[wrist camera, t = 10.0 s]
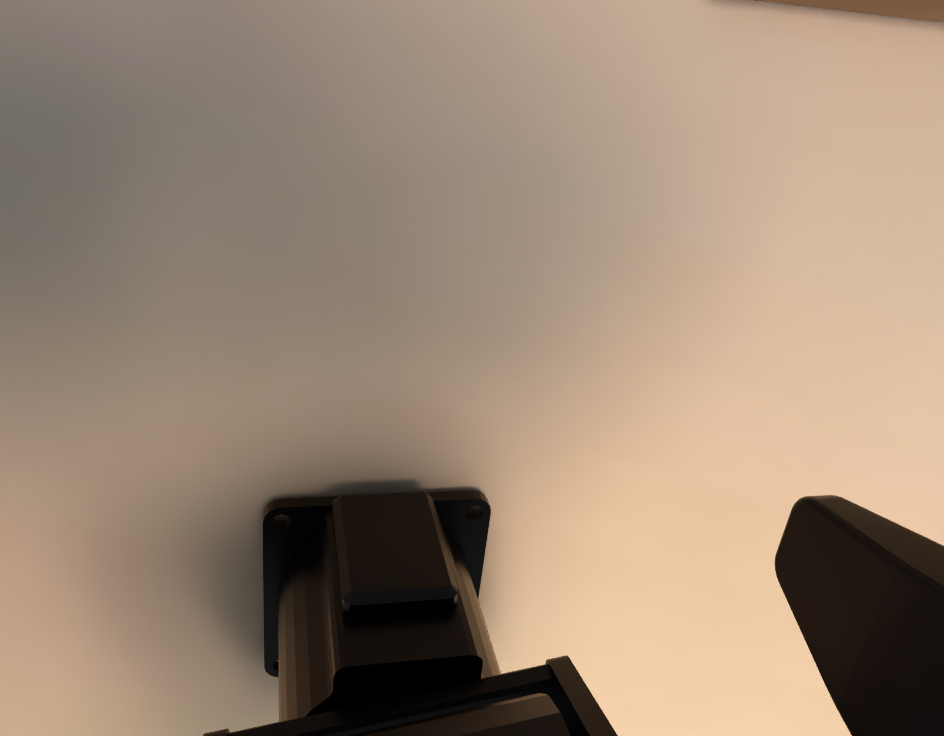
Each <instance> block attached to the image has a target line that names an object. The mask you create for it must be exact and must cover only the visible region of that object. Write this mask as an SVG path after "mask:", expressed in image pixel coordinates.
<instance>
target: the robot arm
mask: <svg viewBox="0 0 944 736" xmlns="http://www.w3.org/2000/svg"><path fill="white" fill-rule="evenodd" d="M472 506H479V507H478V508H477V509H476V510H475V511H471V512H470V511H467V509H469V508H470V507H472ZM490 514H491V510H490V505H489V502H488V500H487V498H486V496H485V495H484V494H483V493H481V492H479V491H456V492H432V493H425V492H412V493H388V494H364V495H343V496H336V497H312V498H288V499H278V500H274V501H272V502H270V503H268V505H267V506H266V507H265V508H264V512H263V582H264V663H265V670H266V672H267V673H268V674H269V675H271V676H274V677H279V722H277V723H272V724H268V725H263V726H259V727H254V728H249V729H245V730H240V731H236V732H231V733H230V731H229V729H224V730H219V731H215V732H210V733H205V734H204V735H203V736H617V734H616V732H615V731H614V729H613V728H612V726H611V724H610V723H609V721H608V719H607V718H606V716H605V715H604V713H603V711H602V710H601V708H600V707H599V705H598V703H597V702H596V700H595V699H594V697H593V695H592V694H591V692H590V691H589V689H588V687H587V686H586V684H585V682H584V681H583V679H582V678H581V676H580V674H579V673H578V671H577V670H576V668H575V666H574V665H573V663H572V662H571V660H570V658H569V657H568V656H562V657H558V658H553V659H548V660H546V664H545V665H540V666H536V667H531V668H526V669H522V670H517V671H512V672H508V673H503V674H501V673H500V670H499V666H498V663H497V660H496V657H495V653H494V650H493V647H492V644H491V641H490V637H489V634H488V631H487V628H486V624H485V621H484V618H483V615H482V611H481V608H480V605H479V602H478V597H479V590H480V583H481V576H482V569H483V562H484V555H485V548H486V541H487V534H488V527H489V521H490ZM278 515H286V516H288V518H287V519H286V520H282V521H280V520H276V519H275V517H276V516H278ZM775 571H776V575H777V578H778V581H779V583H780V586H781V588H782V590H783V592H784V594H785V597H786V599H787V601H788V603H789V606H790V608H791V610H792V612H793V614H794V617H795V619H796V621H797V623H798V625H799V628H800V630H801V632H802V634H803V636H804V639H805V641H806V643H807V645H808V647H809V650H810V652H811V654H812V656H813V659H814V661H815V663H816V665H817V667H818V670H819V672H820V674H821V676H822V678H823V681H824V683H825V685H826V687H827V689H828V691H829V693H830V695H831V697H832V700H833V702H834V704H835V706H836V708H837V710H838V711H839V713H840V715H841V717H842V719H843V721H844V722H845V724H846V726H847V728H848V730H849V732H850V733H851V735H852V736H944V546H943V545H941V544H939V543H936V542H934V541H932V540H930V539H928V538H926V537H924V536H922V535H920V534H918V533H915V532H913V531H911V530H909V529H907V528H905V527H903V526H901V525H899V524H897V523H894V522H892V521H890V520H888V519H886V518H884V517H882V516H880V515H878V514H875V513H873V512H871V511H869V510H867V509H865V508H863V507H861V506H859V505H857V504H854V503H852V502H850V501H848V500H846V499H844V498H842V497H839V496H834V495H824V496H806V497H803V498H800V499H799V500H798V501H797V502H796V503H795V504H794V506H793V508H792V510H791V513H790V516H789V518H788V521H787V524H786V527H785V530H784V533H783V535H782V538H781V541H780V544H779V547H778V550H777V553H776V556H775ZM277 660H278V661H277Z"/></svg>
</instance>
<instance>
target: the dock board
mask: <svg viewBox="0 0 944 736" xmlns="http://www.w3.org/2000/svg"><path fill="white" fill-rule="evenodd" d="M757 1H766V2H774V3H783V4H792V5H800V6H809V7H817V8H826V9H834V10H843V11H852V12H860V13H869V14H877V15H886V16H894V17H903V18H912V19H920V20H929V21H937V22H944V0H757Z"/></svg>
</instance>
